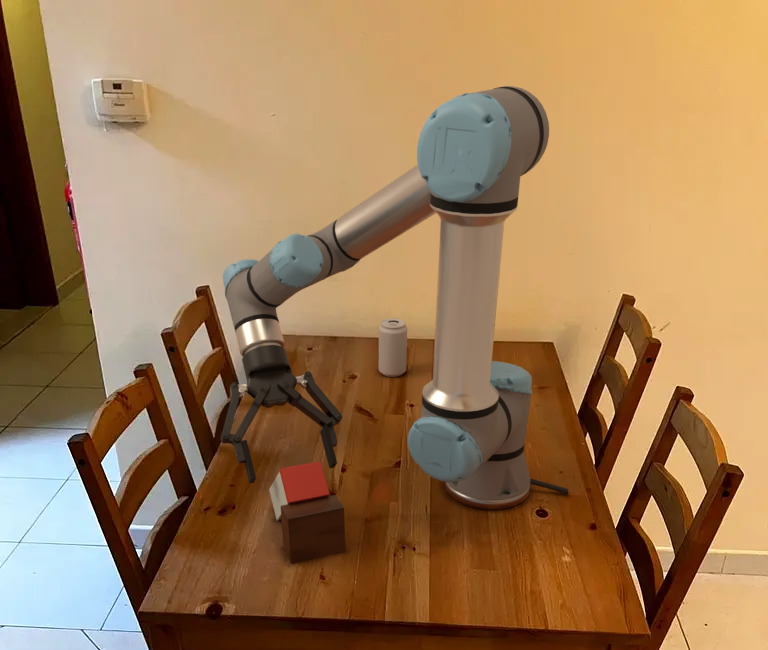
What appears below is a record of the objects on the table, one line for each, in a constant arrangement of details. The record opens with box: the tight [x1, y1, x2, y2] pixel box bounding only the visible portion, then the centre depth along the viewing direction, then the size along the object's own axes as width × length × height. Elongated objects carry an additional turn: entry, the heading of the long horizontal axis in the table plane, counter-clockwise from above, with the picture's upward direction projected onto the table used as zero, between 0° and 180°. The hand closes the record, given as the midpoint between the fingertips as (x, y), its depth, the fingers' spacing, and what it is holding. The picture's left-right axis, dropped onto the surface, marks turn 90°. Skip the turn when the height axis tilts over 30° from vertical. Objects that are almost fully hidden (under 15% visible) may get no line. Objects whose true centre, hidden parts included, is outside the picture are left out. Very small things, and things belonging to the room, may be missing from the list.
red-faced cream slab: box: [269, 460, 330, 521], centre depth 133 cm, size 13×6×13 cm, turn 21°
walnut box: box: [281, 494, 346, 565], centre depth 129 cm, size 4×9×8 cm, turn 111°
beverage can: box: [378, 318, 408, 378], centre depth 186 cm, size 6×6×12 cm
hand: (293, 473), depth 133 cm, fingers open, 13 cm apart
